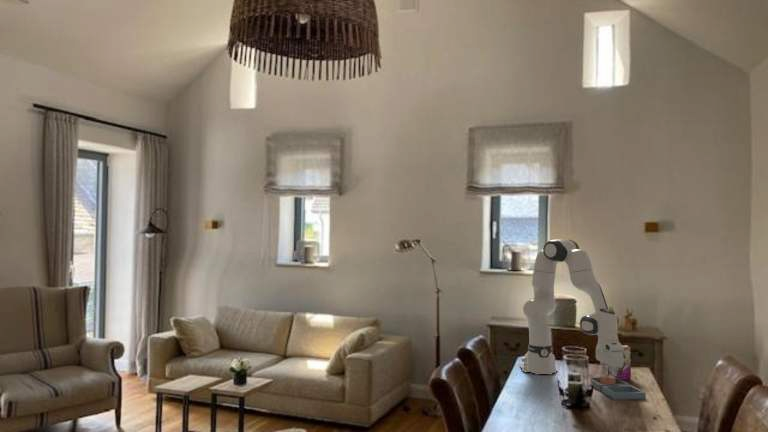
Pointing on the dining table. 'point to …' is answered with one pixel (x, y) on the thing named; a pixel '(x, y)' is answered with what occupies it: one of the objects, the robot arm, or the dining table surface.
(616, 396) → the slate tray
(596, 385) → the charcoal bin
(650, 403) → the dining table surface
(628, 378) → the candy bar box
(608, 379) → the terracotta block
